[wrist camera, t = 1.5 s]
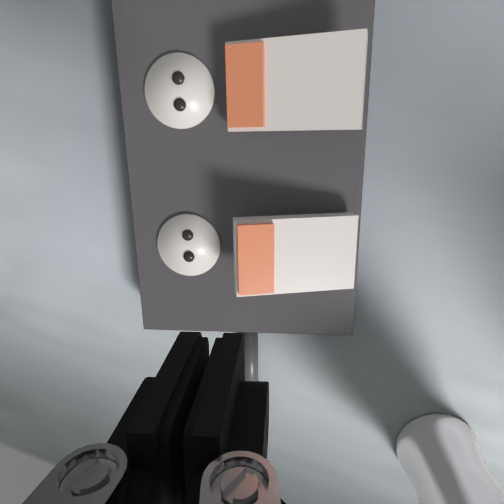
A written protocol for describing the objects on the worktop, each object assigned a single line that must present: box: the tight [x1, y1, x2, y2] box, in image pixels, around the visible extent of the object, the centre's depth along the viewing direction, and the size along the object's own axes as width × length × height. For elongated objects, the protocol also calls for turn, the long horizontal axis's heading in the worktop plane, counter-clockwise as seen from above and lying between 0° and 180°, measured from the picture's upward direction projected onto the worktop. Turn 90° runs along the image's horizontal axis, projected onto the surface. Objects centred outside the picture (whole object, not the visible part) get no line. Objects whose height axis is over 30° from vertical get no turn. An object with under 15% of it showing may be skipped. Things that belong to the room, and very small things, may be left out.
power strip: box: [111, 0, 375, 381], centre depth 24 cm, size 14×39×4 cm, turn 1°
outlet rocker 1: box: [225, 28, 368, 132], centre depth 20 cm, size 7×4×1 cm, turn 91°
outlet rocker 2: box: [233, 212, 359, 297], centre depth 22 cm, size 7×4×1 cm, turn 91°
